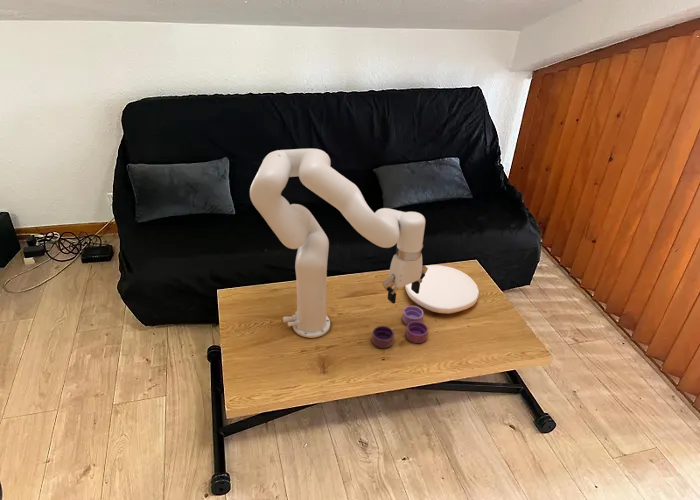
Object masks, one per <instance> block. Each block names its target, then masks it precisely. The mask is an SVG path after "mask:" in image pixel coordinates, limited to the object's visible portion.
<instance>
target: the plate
mask: <svg viewBox="0 0 700 500" xmlns="http://www.w3.org/2000/svg"><path fill="white" fill-rule="evenodd" d="M425 266H426V267H427V268H428V270H427V272H426V273H425V276H424V278H423V279H422V282H421V283H420V288H419V293H418V294H416V293H415V292H414V291H413V290H411V285H412V283H410V284H408V285H405V286H404V287H405V291H406V293H407V296H408V297H409V298H410V300H412V301H413V302H414V303H415V304H417V305H418V306H420V307H422V308H423V309H426V310H428V311H429V312H433V313H437V314H448V315H449V314H455V313H458V312H461V311H466V310H467V309H469V308H471V307H473V306H474V305H475V304H476V303H477V301H478V299H479V296H480V291H479V287H478V285H477V283H476V282H475V281H474V280H473V278H471V276H469V275H468V274H467V273H465V272H464V271H461V270H459V269H457V268H454V267H451V266H447V265H441V264H440V265H439V264H430V265H425Z"/></svg>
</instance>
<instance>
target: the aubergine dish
mask: <svg viewBox="0 0 700 500" xmlns="http://www.w3.org/2000/svg"><path fill="white" fill-rule="evenodd" d="M394 338H395V331H394V330H393V329H392V328H391V327H389V326H387V325H379V326H376V327H374V328H373V329H372V334H371V342H372V344H373V345H374V347H377V348H379V349H388V348H390V347H391V346H392V345H393V344H394Z"/></svg>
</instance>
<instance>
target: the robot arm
mask: <svg viewBox="0 0 700 500" xmlns="http://www.w3.org/2000/svg"><path fill="white" fill-rule="evenodd" d="M331 162H332V161H331V158H330V156H329V154H328V152H327V153H326V151H324V150H322V149H319V148H295V149H293V148H292V149H280V150H279V149H277V150H274V151H271V152H269V153H268V154H267V155H266V156H265V157H264V158H263V159H262V163H261V164H260V166H259V168H258V171H257V172H256V175H255V177H254V178H253V180H252V182H251V185H250V188H249V198H250V201H251V203H252V205H253V206H254V208H255V209H256V211H258V213H259V214H260V216H261V217H262V218H263V220H264V221H265V222H266V223H267V225H268V226H269V228H270V229H271V230H272V232H273V233H274V234H275V236H276V237H277V238H278V240H279V241H280V242H281V244H282V245H283V246H285V247H286V248H287V249H291V250H297V251H296V256H295V261H294V262H295V263H294V268H295V278H296V279H295V280H296V311H294V314H292V315H291V316H288V315H287V316H282V322H283V323H287V327H292V330H293V331H294V332H295V333H296V335H299V336H301V337H304V338H309V339H310V338H311V339H313V338H319V337H322V336H324V335H326V334H327V333H328V332H329V331H330V328H331V320H330V318H329V317H328V316H327V287H328V286H327V283H328V281H327V280H328V279H327V277H328V272H327V271H328V259H329V250H330V249H329V248H330V241H329V238H328V236H327V234H326V233H325V231H324V229H323V228H322V226H320V225H321V224H319V222H318V221H317V219H316V218H315V216H314V215H313V214H312V212H311V211H310V210H309V209H308V208H307V207H305V206H304V205H302V204H299V203H291V204H290V202H289V200H287V199H286V198H285V197H284V196H283V195H282V193H283V191H284V189H286V187H287V184H288V182H289V178H294V177H298V178H299V181H300V183H301V184H302V185H303V186H305V188H307V189H308V190H310V191H311V192H312V193H314V194H315V195H317V196H318V197H319V198H321V199H322V200H324V201H325V202H327V203H328V204H329V205H331V206H332V207H334V208H336V209H337V210H338V211H339V212H340V214H341V215H342V217H344V218H345V220H346V221H347V222H348V223H349V224H350V226H351V227H352V228H353V229H354V230H355V231H356V232H357V233H358V234H360V235H361V236H362V237H363V238H365V239H366V240H368V241H369V242H370V243H372V244H374V245H376V246H378V247H380V248H383V249H384V248H385V249H390V248H392V247H394V246H395V245H396V249H395V254H394V255H393V256H392V259H391V262H390V267H389V272H388V278H386V279H385V280H384V281H383V282H382V286H383V288H384V289H385V290H386V291H387V300H388V301H389V302H391V304H393V305H395V304H396V300H397V290H398V289H399V288H403V287H405V285H408V284H410V283H412V285H411V290H413V291H414V292H415V293H416V294H418V293H419V288H420V283H421V282H422V279H423V278H424V276H425V273H426V272H427V270H428V268H427V267H426V266H427V265H423V254H422V251H423V250H422V249H423V248H424V243H423V242H424V235H425V229H426V218H425V216H424V215H423V214H422V213H420V212H417V211H402V210H397V209H393V208H388V207H382V208H379V209H377V210H376V211H375V212H374V210H372V208H371V207H370V206H369V205H368V203H367V201H366V200H365V197H364V195H363V194H362V192H361V190H360V188H359V187H358V185H356V184H355V183H354V182H352V181H351V180H349V179H348V178H346V177H345V176H344V175H342V174H341V173H339V171H337V170H336V169H334V168H333V167H332V166H331V165H332V164H331ZM393 286H394V287H393Z"/></svg>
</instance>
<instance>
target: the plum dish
mask: <svg viewBox="0 0 700 500" xmlns="http://www.w3.org/2000/svg"><path fill="white" fill-rule="evenodd" d="M428 332H429V327H428V326H427V324H425V323H424V322H423V321H422V322H418V321H413V322H410V323H409V324H408V325H407V324H406V330H405V337H406V339H407V340H408V341H410V342H411V343H414V344H422V343H424V342H426V340H427V339H428Z"/></svg>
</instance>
